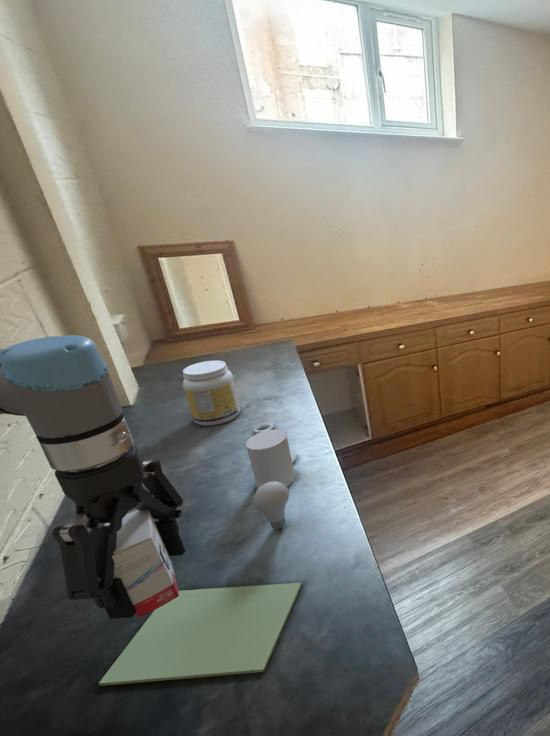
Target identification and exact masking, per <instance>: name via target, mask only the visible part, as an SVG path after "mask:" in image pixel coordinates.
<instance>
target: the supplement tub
mask: <svg viewBox="0 0 550 736" xmlns="http://www.w3.org/2000/svg"><path fill="white" fill-rule="evenodd" d="M182 373H183V378H184V379H183V381H182V387H183V390H184V394H185V397H186V400H187V404H188V407H189V409H190V413H191V416H192V419H193V421H194V423H195V424H197V425H200V426H205V427H207V426H218V425H221V424H225V423H228V422H230V421H232V420H234V419H235V418H237V417H238V416H239V415H240V414H241V412H242V406H241V402H240V398H239V395H238V391H237V386H236V383H235V378H234V375H233V373H232V372H231V371H230V370H229V368H228V366H227V363H226V362H225V361H223V360H205V361H200V362H196V363H193V364H191V365H188V366H186V367H185V368H183V369H182Z"/></svg>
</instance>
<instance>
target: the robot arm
mask: <svg viewBox="0 0 550 736" xmlns="http://www.w3.org/2000/svg"><path fill="white" fill-rule="evenodd" d="M117 394H118V393H117V392H116V389H115V386H114V383H113V381H112V377H111V375H110V372H109V368H108V365H107V362H106V361H105V360H104V359H103V358H102V355H101V353H100V352H99V350H98V347H97V344H96V343H95V342H94V341H93V340H92V339H90V338H89V337H87V336H83V335H77V334H76V335H75V334H68V335H61V336H60V335H53V336H45V337H39V338H34V339H30V340H25V341H21V342H18V343H15V344H12V345H10V346H8V347H6V348H0V415H11V416H19V417H26V419H27V421H28V423H29V425H30V427H31V429H32V430H33V433H34V434H35V437H36V440H37V441H38V443H39V445H40V447H41V450H42V452H43V453H44V456H45V458H46V460H47V462H48V464H49V466H50V468H51V469H52V470H54V476H55V478H56V480H57V482H58V484H59V486H60V488H61V490H62V492H63V494H64V495H65V496H66V497H67V498H69V499H70V500H71V501H73V503H74V504H75V516H74V517H73V518H72V519H71V520H70V521H69V522H68V523H67V524H65V525H57V526H56V527H55V528H53V530H52V533H51V534H52V537H53V538H54V539H55V541H56V542H57V544H58V545H59V547H60V554H61V560H62V561H61V562H62V566H63V572H64V579H65V586H66V591H67V598H68V600H70V601H72V600H73V601H74V600H88V599H93V600H94V602H95V604H96V606H97V607H98V608H99V609H105V611H106V613H107V615H108V617H109V619H111V620H115V619H127V618H133V617H134V615H136V614H135V613H136V610H135V608H134V606H133V604H132V601H131V599H130V597H129V595H128V593H127V591H126V589H125V587H124V585H123V582H122V580H121V578H115V576H114V565H115V563H114V560H113V558H112V556H113V555H114V551H115V550H116V540H117V532H118V531H119V530H120V529H121V527H122V518H123V517H124V516H125V515H126V514H127V513H129V512H131V510H133V509H135V510H139V511H141V510H149V512H150V513H151V515H152V518H153V520H154V522H155V524H156V527H157V529H158V531H159V534H160V536H161V538H162V541H163V543H164V545H165V547H166V550H167V552H168V554H169V557H177V556H183V555H184V554H185V553H186V549H185V547H184V544H183V541H182V539H181V536H180V534H179V532H180V527H179V525H178V524H179V523H178V522H177V519H179V518H180V517H181V516H182V513H183V512H182V509H178V508H180V507H182V505H183V503H184V500H183V498H182V497H181V494H180V493H179V492H178V491H177V490H176V488H175V487H174V486H173V484H172V483H171V481H170V480H169V479H168V478H167V476H166V474H165V473H164V472H163V467H162V465H161V462H160V460H157V459H156V460H155V459H154V460H142V457H141V455H140V452H139V449H138V447H137V445H135V444H134V443H135V442H134V438H133V436H132V432H131V429H130V427H129V425H128V422H127V420H126V417H125V415H124V412H123V408H122V406H121V403H120V399H119V397H118V395H117ZM143 486H144V487H145V488H146V489H145V488H144V487H143ZM105 523H110V525H106V526H104V525H99V524H105Z"/></svg>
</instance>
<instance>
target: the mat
mask: <svg viewBox="0 0 550 736" xmlns="http://www.w3.org/2000/svg"><path fill="white" fill-rule="evenodd" d="M302 586H303V583H302V582H289V583H274V584H259V585H245V586H231V587H230V586H229V587H215V588H199V589H185V590H183V589H182V590H178V593H179V596H178V597H177V598H175V599H173V600H172V601H170V602H168V603H166V604H165V605H163V606H161V607H159V608H158V609H156V610H154V611H152V612H151V614H150V615H149V617H148V618H147V619H146V621H145V622H144V623H143V625H142V626H141V628H139V630H138V631H137V632H136V634H135V635H134V637H133V638H132V639H131V640H130V642H129V643H128V644H127V646H125V648H124V649H123V651H122V652H121V653H120V655H119V656H118V657H117V658H116V660H115V661H114V663H113V664H112V665H111V666H110V668H109V669H108V670H107V672H106V673H105V674H104V676H103V677H101V679H100V681H98V686H99V687H107V686H116V685H128V684H139V683H149V682H151V683H152V682H161V681H172V680H183V679H184V680H186V679H195V678H196V679H197V678H208V677H221V676H232V675H233V676H234V675H243V674H244V675H245V674H254V673H264V672H265V671H266V669H267V667H268V664H269V662H270V659H271V657H272V655H273V652H274V650H275V648H276V645H277V643H278V641H279V639H280V637H281V634H282V632H283V629H284V627H285V626H286V623H287V622H288V621H287V620H288V618H289V616H290V614H291V612H292V609H293V607H294V604H295V602H296V600H297V598H298V595H299V593H300V590H301V589H302Z"/></svg>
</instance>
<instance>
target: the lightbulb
mask: <svg viewBox="0 0 550 736" xmlns="http://www.w3.org/2000/svg"><path fill="white" fill-rule="evenodd" d="M289 496H290V491H289V488H288V487H286V486H285V485H284V484H283V483H281V482H277V481H272V482H268V483H265V484H264V485H262V486H261V487H259V489H257V490H256V491H255V493H254V496H253V505H254V507H255V509H256V510H257V511H259V512H260V513H261V514H263V515H265V517H266V519H267V522H269V524H270V527H271V529H273V530H279V529H281V528H283V527H284V526H285V524H286V520H285V519H286V518H285V516H286V511H285V510H286V509H285V508H286V505H287V503H288V501H289Z"/></svg>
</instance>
